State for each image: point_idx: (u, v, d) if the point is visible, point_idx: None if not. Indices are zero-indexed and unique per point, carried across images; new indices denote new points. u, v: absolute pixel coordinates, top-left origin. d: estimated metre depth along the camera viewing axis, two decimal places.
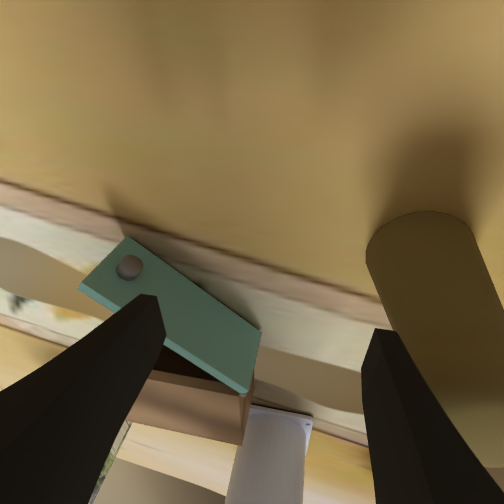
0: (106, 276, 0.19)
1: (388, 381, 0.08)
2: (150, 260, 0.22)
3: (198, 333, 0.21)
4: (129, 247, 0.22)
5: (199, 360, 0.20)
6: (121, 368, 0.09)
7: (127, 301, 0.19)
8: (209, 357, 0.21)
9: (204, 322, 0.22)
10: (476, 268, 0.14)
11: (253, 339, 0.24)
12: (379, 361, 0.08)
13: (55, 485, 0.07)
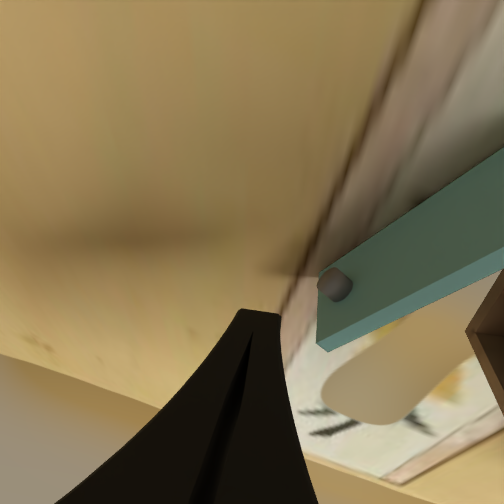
0: (329, 314, 0.15)
1: None
2: (351, 258, 0.16)
3: (482, 222, 0.11)
4: None
5: None
6: (239, 390, 0.08)
7: (364, 306, 0.13)
8: None
9: (472, 207, 0.12)
10: None
11: None
12: None
13: None
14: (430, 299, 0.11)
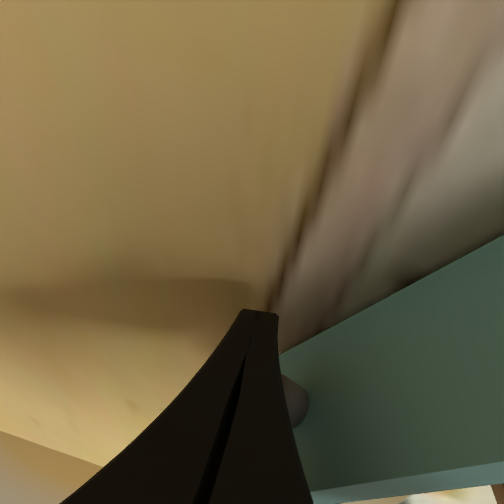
0: None
1: None
2: (312, 350, 0.12)
3: None
4: (282, 368, 0.12)
5: None
6: None
7: (319, 462, 0.08)
8: None
9: (490, 325, 0.07)
10: None
11: None
12: None
13: None
14: (420, 489, 0.07)
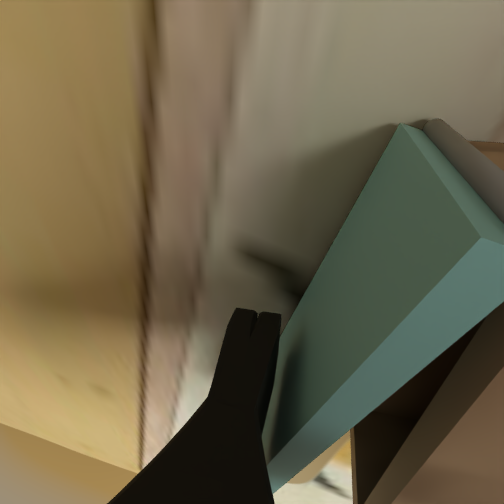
0: None
1: None
2: None
3: (312, 357, 0.08)
4: None
5: (331, 408, 0.06)
6: (265, 395, 0.08)
7: None
8: (336, 366, 0.06)
9: (315, 322, 0.09)
10: None
11: (393, 161, 0.07)
12: None
13: None
14: (290, 472, 0.08)
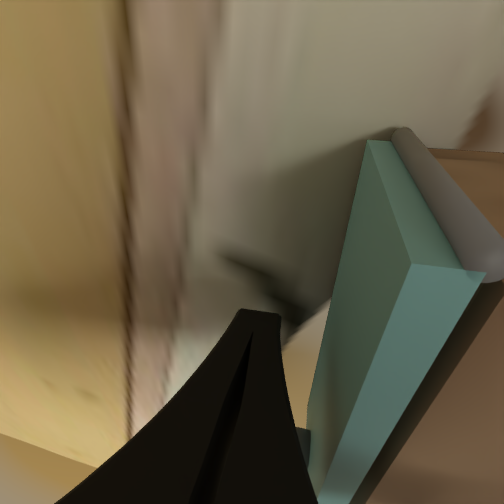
0: None
1: None
2: (313, 391, 0.13)
3: (336, 380, 0.08)
4: (308, 414, 0.14)
5: (352, 432, 0.06)
6: (239, 391, 0.08)
7: None
8: (349, 390, 0.06)
9: (335, 344, 0.09)
10: None
11: (365, 179, 0.07)
12: None
13: None
14: (343, 500, 0.08)
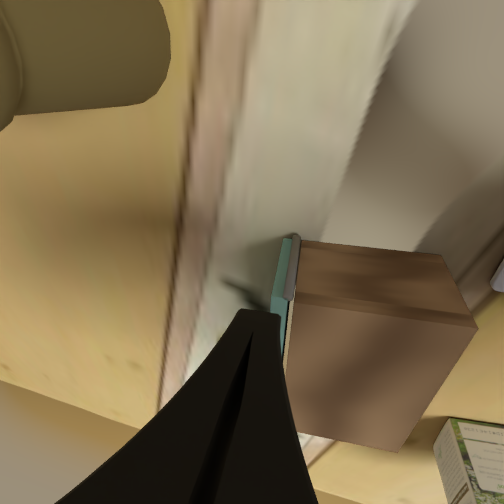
0: None
1: None
2: None
3: None
4: None
5: None
6: (239, 391, 0.08)
7: None
8: None
9: None
10: None
11: None
12: None
13: None
14: None
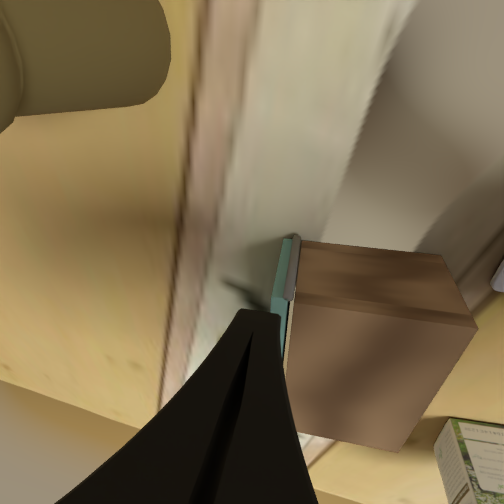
0: None
1: None
2: None
3: None
4: None
5: None
6: (239, 390, 0.08)
7: None
8: None
9: None
10: None
11: None
12: None
13: None
14: None
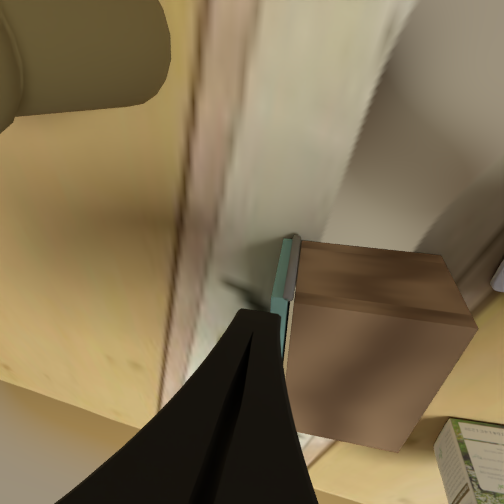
0: None
1: None
2: None
3: None
4: None
5: None
6: (239, 390, 0.08)
7: None
8: None
9: None
10: None
11: None
12: None
13: None
14: None
